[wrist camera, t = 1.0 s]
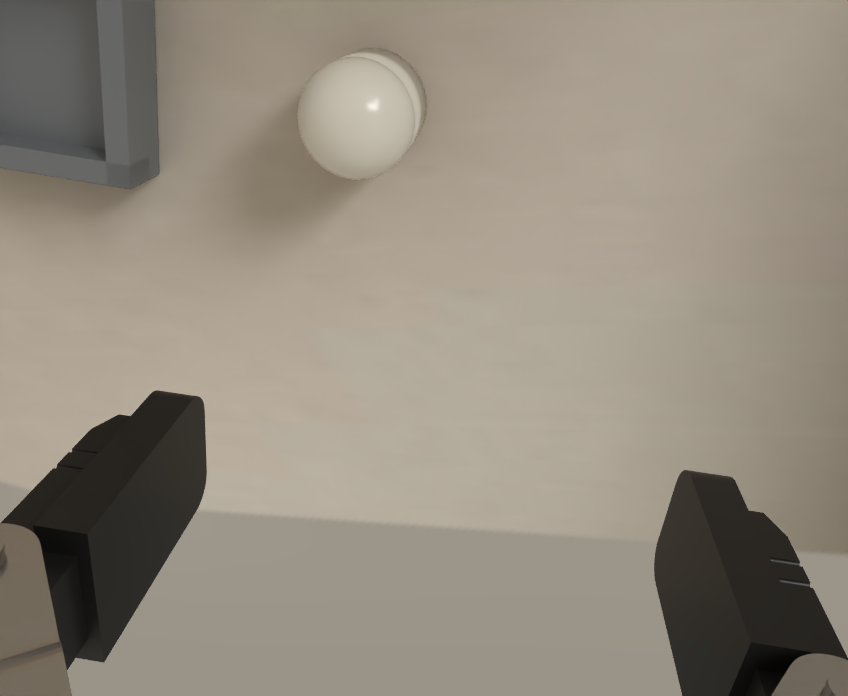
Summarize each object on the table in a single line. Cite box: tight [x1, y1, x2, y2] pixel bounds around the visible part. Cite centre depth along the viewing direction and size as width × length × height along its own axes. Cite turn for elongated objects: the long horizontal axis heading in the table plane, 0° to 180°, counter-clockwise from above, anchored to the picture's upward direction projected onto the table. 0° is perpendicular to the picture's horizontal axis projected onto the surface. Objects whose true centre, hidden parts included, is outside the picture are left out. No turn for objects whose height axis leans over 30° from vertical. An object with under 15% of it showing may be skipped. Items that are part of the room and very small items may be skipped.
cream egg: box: [297, 48, 427, 180], centre depth 28 cm, size 4×4×6 cm
